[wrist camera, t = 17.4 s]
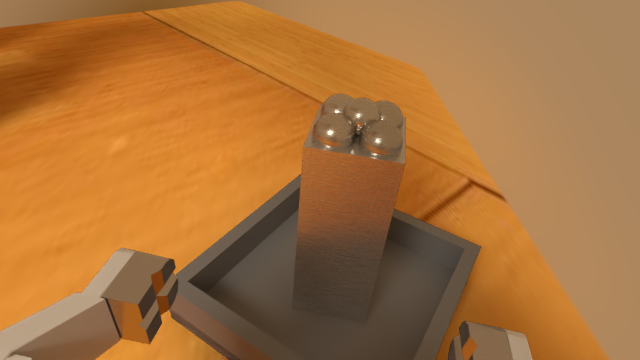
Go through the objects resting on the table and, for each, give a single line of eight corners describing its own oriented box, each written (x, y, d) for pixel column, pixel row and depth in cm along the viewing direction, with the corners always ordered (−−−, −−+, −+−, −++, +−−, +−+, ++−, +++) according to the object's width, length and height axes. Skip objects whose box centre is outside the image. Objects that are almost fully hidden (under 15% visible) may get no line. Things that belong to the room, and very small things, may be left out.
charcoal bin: (171, 317, 27) (163, 284, 25) (303, 199, 38) (305, 169, 36) (385, 473, 21) (398, 446, 18) (467, 277, 32) (481, 246, 30)
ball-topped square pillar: (291, 308, 27) (305, 113, 18) (306, 255, 31) (323, 74, 22) (364, 323, 26) (413, 130, 18) (370, 267, 30) (412, 88, 22)
